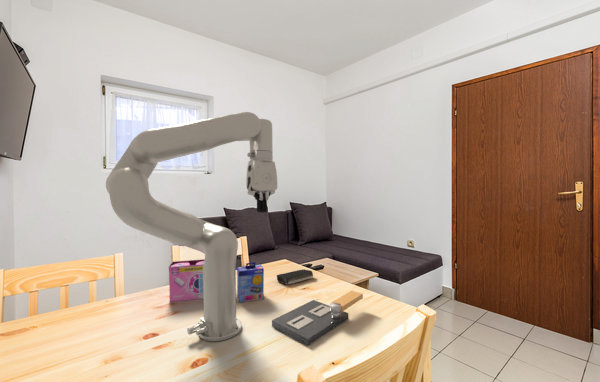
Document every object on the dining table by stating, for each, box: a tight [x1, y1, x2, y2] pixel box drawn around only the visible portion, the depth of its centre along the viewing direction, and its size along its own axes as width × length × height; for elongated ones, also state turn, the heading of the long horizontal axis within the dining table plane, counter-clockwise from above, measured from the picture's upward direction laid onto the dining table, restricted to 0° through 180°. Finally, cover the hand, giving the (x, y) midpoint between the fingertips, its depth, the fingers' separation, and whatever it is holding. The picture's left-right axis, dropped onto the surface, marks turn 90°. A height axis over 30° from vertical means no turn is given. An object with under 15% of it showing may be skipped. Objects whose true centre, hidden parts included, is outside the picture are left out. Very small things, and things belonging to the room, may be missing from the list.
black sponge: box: [276, 269, 314, 285], centre depth 126 cm, size 16×8×4 cm, turn 125°
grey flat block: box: [271, 299, 349, 347], centre depth 87 cm, size 20×15×4 cm
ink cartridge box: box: [236, 261, 265, 303], centre depth 106 cm, size 10×6×14 cm, turn 111°
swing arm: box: [329, 290, 364, 313], centre depth 91 cm, size 4×15×2 cm, turn 138°
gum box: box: [168, 258, 205, 303], centre depth 109 cm, size 24×8×14 cm, turn 104°
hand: (261, 211), depth 92 cm, fingers closed
